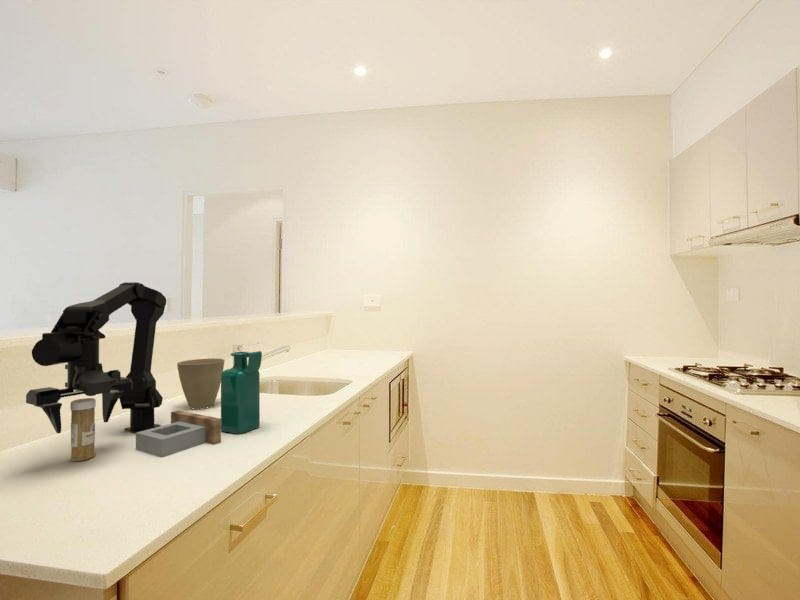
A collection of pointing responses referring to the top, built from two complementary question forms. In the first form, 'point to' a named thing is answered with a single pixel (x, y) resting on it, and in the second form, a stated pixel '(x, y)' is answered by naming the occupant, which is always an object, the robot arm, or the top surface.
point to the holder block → (170, 438)
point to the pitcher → (241, 394)
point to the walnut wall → (201, 424)
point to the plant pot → (200, 381)
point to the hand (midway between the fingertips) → (83, 427)
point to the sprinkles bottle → (82, 429)
